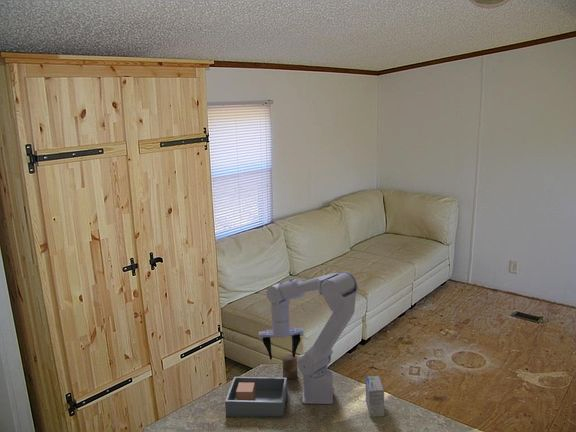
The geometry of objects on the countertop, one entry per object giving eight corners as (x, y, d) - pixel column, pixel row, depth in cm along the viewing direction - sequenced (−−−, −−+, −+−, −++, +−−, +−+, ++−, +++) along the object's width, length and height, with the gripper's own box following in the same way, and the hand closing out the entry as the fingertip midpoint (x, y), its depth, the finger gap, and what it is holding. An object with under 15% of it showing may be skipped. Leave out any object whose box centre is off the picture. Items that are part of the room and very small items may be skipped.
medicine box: (384, 417, 134) (384, 390, 132) (369, 417, 134) (369, 390, 132) (379, 400, 142) (379, 375, 140) (365, 401, 142) (365, 375, 140)
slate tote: (287, 391, 148) (286, 377, 147) (283, 417, 136) (282, 402, 135) (235, 390, 150) (234, 376, 149) (226, 416, 137) (224, 401, 136)
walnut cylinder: (298, 372, 159) (297, 354, 158) (297, 380, 154) (296, 361, 153) (283, 372, 160) (283, 354, 158) (282, 380, 155) (281, 361, 153)
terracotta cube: (239, 396, 146) (238, 382, 145) (255, 396, 145) (254, 382, 144) (237, 406, 141) (236, 391, 140) (253, 406, 140) (252, 391, 139)
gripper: (300, 311, 155) (301, 348, 157) (257, 315, 153) (259, 352, 156) (303, 320, 148) (305, 359, 151) (258, 324, 146) (261, 363, 149)
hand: (282, 356), depth 153 cm, fingers open, 7 cm apart
